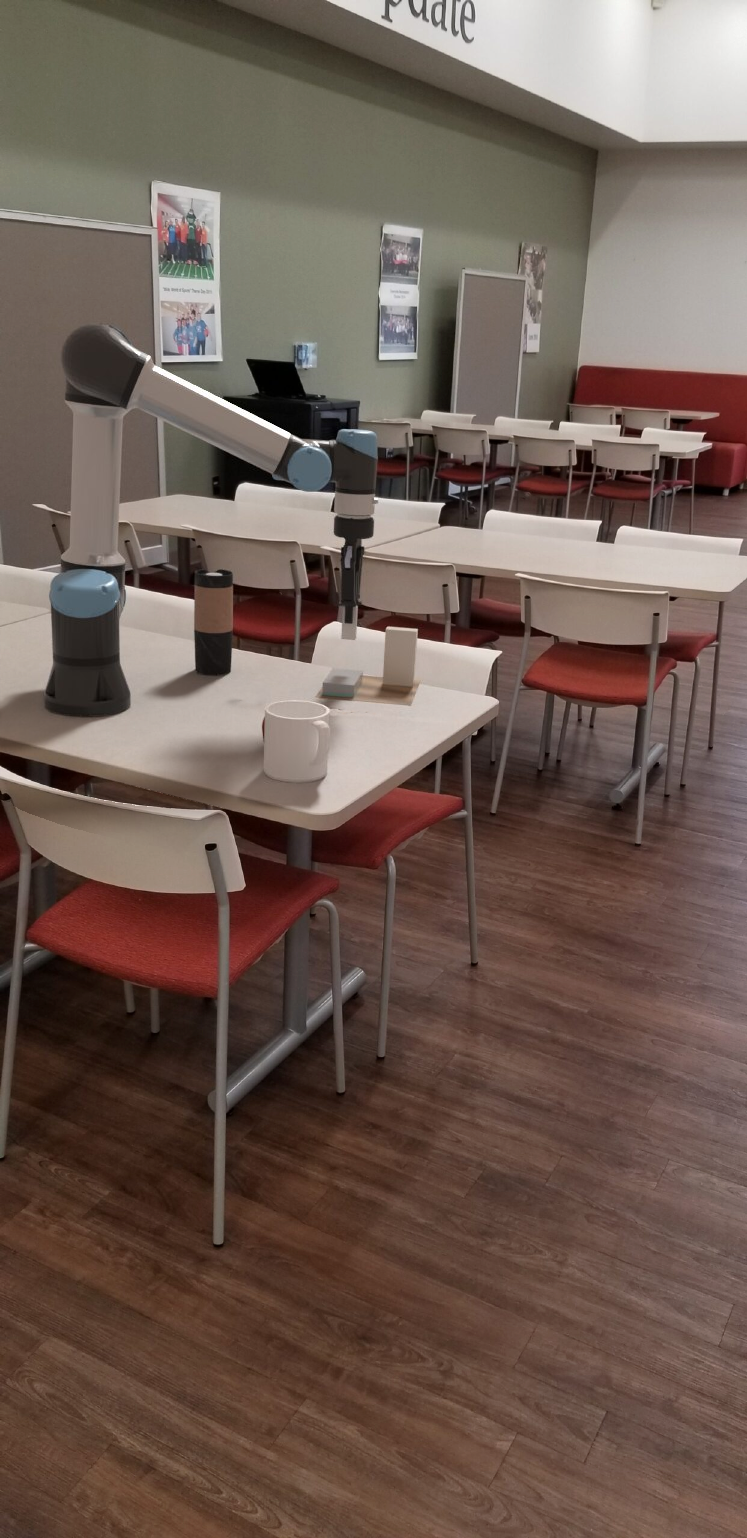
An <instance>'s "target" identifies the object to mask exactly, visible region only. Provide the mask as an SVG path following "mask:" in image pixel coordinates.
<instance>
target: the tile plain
mask: <svg viewBox="0 0 747 1538" xmlns="http://www.w3.org/2000/svg"><path fill="white" fill-rule="evenodd" d="M418 631H419V629H418V628H410V627H399V626H387V627H386V628H385V634H384V635H385V636H384V650H383V651H384V654H383V671H382V672H383V674H382V677H383V684H387V685H398V686H410V687H413V686H414V681H415V680H416V664H417V662H416V661H417V648H418V647H417V646H418V634H419V633H418Z"/></svg>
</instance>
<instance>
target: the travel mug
mask: <svg viewBox="0 0 747 1538" xmlns="http://www.w3.org/2000/svg"><path fill="white" fill-rule="evenodd" d="M233 573H234V572H233V571H230V570H227V569H217V570H215V571H208V570H207V569H204V568H202V569H198V570H195V571H194V600H193V601H194V603H193V604H194V607H193V608H194V610H193V611H194V612H193V613H194V614H193V615H194V616H193V617H194V618H193V619H194V620H193V621H194V622H193V633H194V635H193V636H194V637H193V638H194V667H195V672H196V673H198V674H201V675H205V676H222V675H226V674H230V673H231V671H232V658H233V657H232V655H233V654H232V653H233V633H234V632H233V631H234V630H233V629H234V627H233V625H234V615H233V614H234V610H233V609H234V600H233V599H234V575H233Z"/></svg>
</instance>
